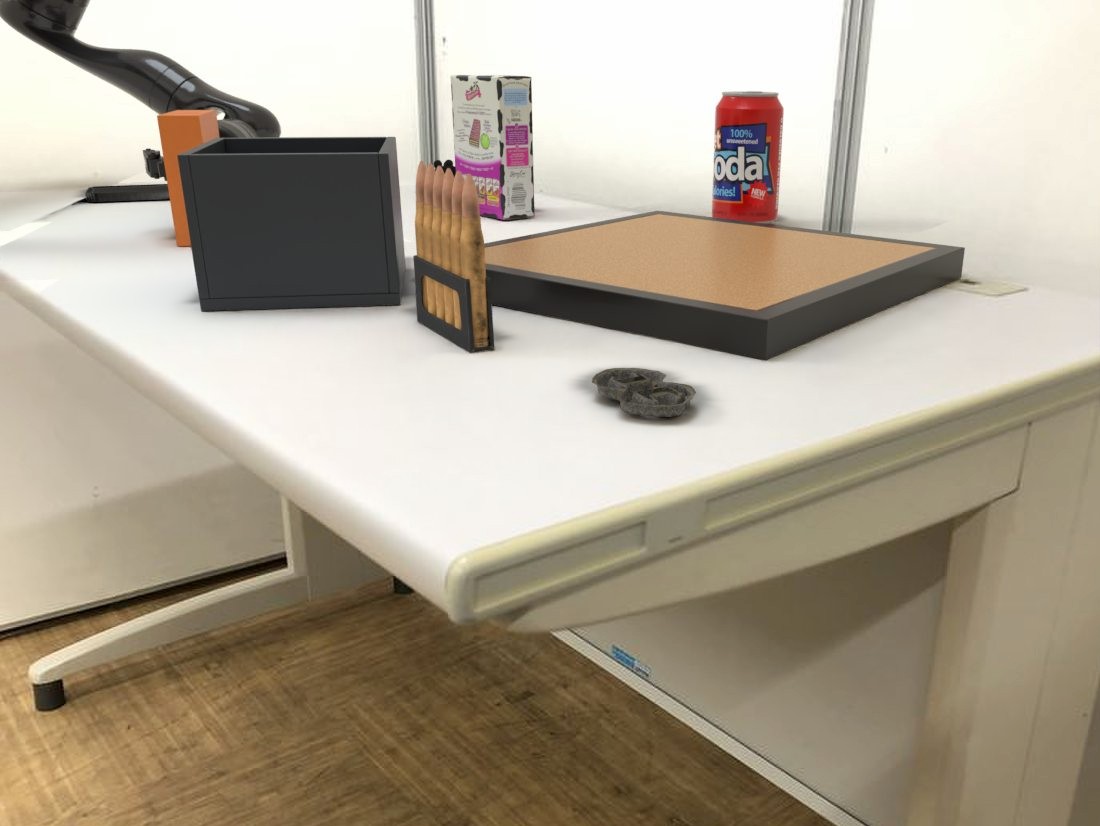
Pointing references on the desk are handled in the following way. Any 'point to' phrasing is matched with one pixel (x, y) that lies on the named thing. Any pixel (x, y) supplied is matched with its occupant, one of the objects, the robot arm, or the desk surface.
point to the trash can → (294, 222)
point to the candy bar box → (495, 141)
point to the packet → (178, 137)
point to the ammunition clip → (451, 260)
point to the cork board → (713, 278)
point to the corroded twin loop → (644, 391)
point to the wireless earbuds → (445, 166)
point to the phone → (127, 193)
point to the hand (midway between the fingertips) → (189, 170)
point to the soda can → (747, 156)
